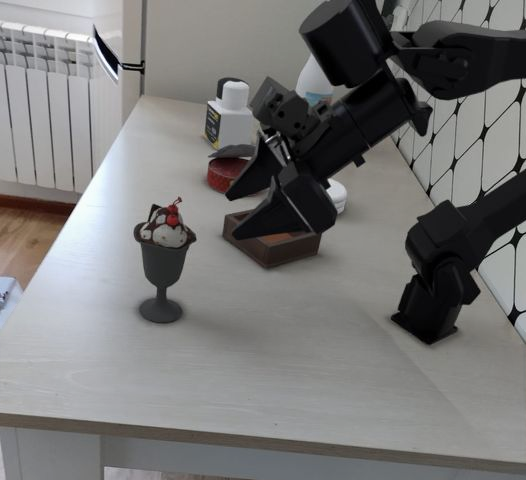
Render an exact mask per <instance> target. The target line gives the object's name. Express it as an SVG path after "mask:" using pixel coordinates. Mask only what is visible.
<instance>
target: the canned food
mask: <svg viewBox="0 0 526 480" xmlns="http://www.w3.org/2000/svg"><path fill="white" fill-rule="evenodd" d="M255 149H256V145H255V146H254V145H253V144H250V145H247V144H239V145H228V146H225V147H223V148H221V149H220V150H217V151H215V152H212V153H211V154H210V155H209V154H208V156H207V158H208V159H210V160H209V161H208V164H207V174H206V183H207V185H208V186H209V187H210V188H211V189H213V190H214V191H216V192H218V193H221V194H224V195H225V192H226V191H227V190H228V188H229V187H230V186H231V184H232V183H233V182H234V180H235V179H236V178H237V176H238V175H239V174H240V172H241V171H242V170H243V169H244V167H245V166H246V165H247V163H248V162H249V160H250V159H247V158H252V156H253V155H254V153H255ZM211 158H212V159H211ZM261 193H262V191H259V192H256V193H254V194H251V195H249V196H248V197H253V196H257V195H259V194H261Z"/></svg>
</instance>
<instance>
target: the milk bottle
mask: <svg viewBox="0 0 526 480" xmlns="http://www.w3.org/2000/svg"><path fill="white" fill-rule="evenodd" d="M334 90H335V86H332V85H331V84H330V82H329V81H328V79H327V78H326V76H325V74H324V73H323V71H322V69H321V68H320V66H319V64H318V63H317V61H316V60H315V58H314V56H313V55H312V53H311V52H310V56H309V58H308V60H307V62H306V64H305V65H304V66H303V68H302V70H301V71H300V74H299V76H298V79H297V82H296V87H295V91H296V92H297V94H298V95H299V96H300V97H302V98H303V97H305V98H306V99H307V101H308V103H309V105H310V106H311V107H313V106H314V105H316V104H317V103H318V102H320V101H322V100H323V101H326V100H327V102H328V103H329V105H332V100H333V95H334Z"/></svg>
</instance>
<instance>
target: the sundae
mask: <svg viewBox="0 0 526 480" xmlns="http://www.w3.org/2000/svg"><path fill="white" fill-rule="evenodd" d="M182 199H183V198H182V197H181V196H177V199H175V200H174V201H173V203H172V204H169V205H168V206H164V207H163V206H161V205H158V204H156V203H152V204H151V206H150V210H149V214H148V218H147V221H143V222H139V223H137V224H136V225H135V226H134V228H133V239H134V240H135V241H136V242H137V243H139V245H140V250H141V258H142V268H143V272H144V277H145V279H146V280H147V281H148V282H149V283H150V284H151V285H153V286H154V287H155V288H156V293H155V294H156V295H155V297H152V298H148V299H146V300H144V301H143V302H142V303H141V304H139V308H138V311H139V313H140V315H141V316H142V317H143V318H144V319H146V320H148V321H150V322H154V323H163V324H164V323H170V322H174V321H175V320H177V319H179V318H180V317H181V315H182V312H183V311H182V307H181V305H179V303H178V302H176V301H175V300H172V299H169V298H168V296H167V295H168V293H167V291H168V288H170V287H172V286H174V285H175V284H176V283H178V281H179V280H180V279H181V276H182V274H183V273H182V272H183V269H184V266H185V262H186V257H187V253H188V251H189V249H190V246H191V245H193V243H196V242H197V239H198V238H197V234H196V233H195V232H194V231H193V230H192V229H191V228H190V227H189V226H188V225H186V224H185V223H184V220H183V216H182V214H181V213H180V212H179V207H178V206H177V205H178V204H180V203H182V202H183V200H182Z"/></svg>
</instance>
